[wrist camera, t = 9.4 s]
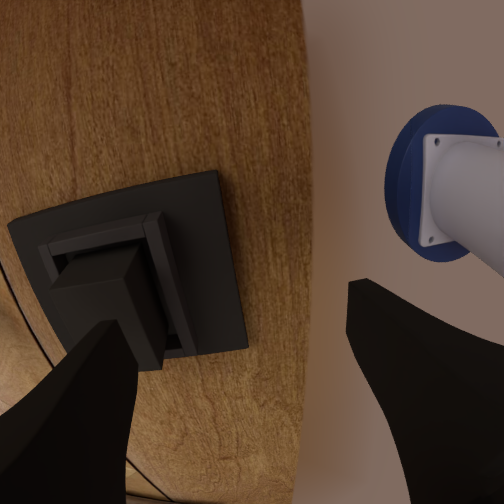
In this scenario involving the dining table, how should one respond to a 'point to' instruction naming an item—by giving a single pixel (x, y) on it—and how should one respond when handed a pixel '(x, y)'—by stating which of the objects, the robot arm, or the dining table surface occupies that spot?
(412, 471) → the robot arm
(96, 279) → the small block
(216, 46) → the dining table surface
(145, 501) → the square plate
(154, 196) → the base pad
